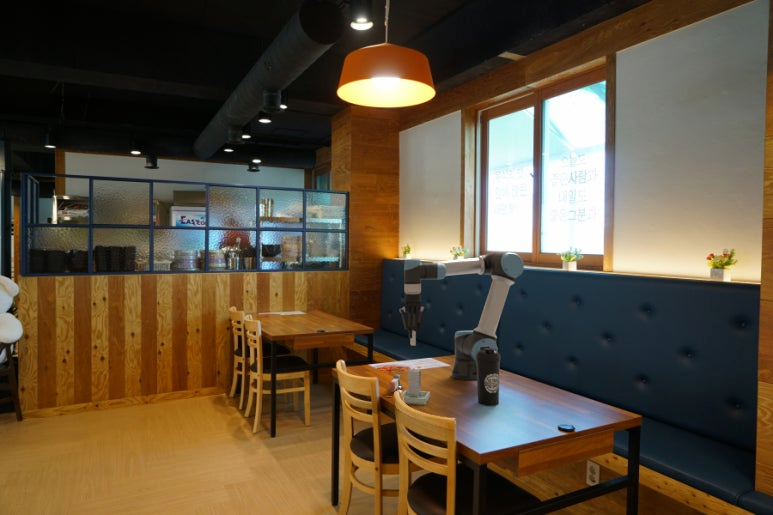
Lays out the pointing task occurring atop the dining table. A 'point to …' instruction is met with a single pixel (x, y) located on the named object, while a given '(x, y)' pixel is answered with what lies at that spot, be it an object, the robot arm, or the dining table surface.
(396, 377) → the crank
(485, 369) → the water bottle
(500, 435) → the dining table surface
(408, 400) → the tray
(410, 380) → the white upright block
